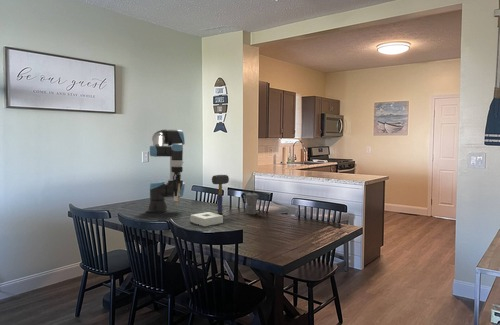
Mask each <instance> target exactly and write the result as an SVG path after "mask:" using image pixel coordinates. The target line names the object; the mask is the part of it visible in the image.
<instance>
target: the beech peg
mask: <svg viewBox="0 0 500 325" xmlns="http://www.w3.org/2000/svg"><path fill="white" fill-rule="evenodd" d="M180 201H181V197H180V184H179V183H178V201H174V200H173V202H174V205H179V204H180Z"/></svg>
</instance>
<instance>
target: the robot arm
mask: <svg viewBox="0 0 500 325" xmlns="http://www.w3.org/2000/svg"><path fill="white" fill-rule="evenodd" d="M151 137H152V138H151V140H152V145H150V146H149V156H150V157H159V158H161V157H163V158H164V157H165V158H166V157H167V158H168V157H169V179H168V180H167V182H166V180H159V181H154V182H153V181H152V182H151V183H150V184H149V203H148V206H147V212H148V213H154V214H155V213H156V214H157V213H165V212H166V213H167V212H168V206H167V202H166V198H173V202H174V201H178V183H179V184H180V198H182V197H184V192H185V184H186V183H185V182H184V180H183V179H182V173H183V164H184V161H183V158H184V157H183V154H184V151H183V150H184V148H183V147H184V145H185V143H186V142H185V141H186V140H185V134H184V131H183V130H182V129H160V130H157V131H156V132H155V133H154V134H152V136H151Z"/></svg>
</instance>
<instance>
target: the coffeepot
mask: <svg viewBox="0 0 500 325" xmlns="http://www.w3.org/2000/svg"><path fill="white" fill-rule="evenodd" d="M240 196H241V200H242V203H243V204H246V209H245V214H246V215H256V214H257V206H256V203H257V200H258V198H259V197H260V195H259V194H258V193H255V192H253V190H250V192H248V193H247V192H242V193H241V195H240ZM244 196H245V198H244ZM245 199H246V200H245ZM245 201H246V202H245Z"/></svg>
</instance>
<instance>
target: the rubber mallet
mask: <svg viewBox="0 0 500 325" xmlns="http://www.w3.org/2000/svg"><path fill="white" fill-rule="evenodd" d="M211 182H212V185H218V195H217V211H216V212H217V213H218V214H222V213H223V185H226V184H228V183H229V182H230V178H229V175H228V174H217V175H216V174H215V175H212V177H211Z"/></svg>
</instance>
